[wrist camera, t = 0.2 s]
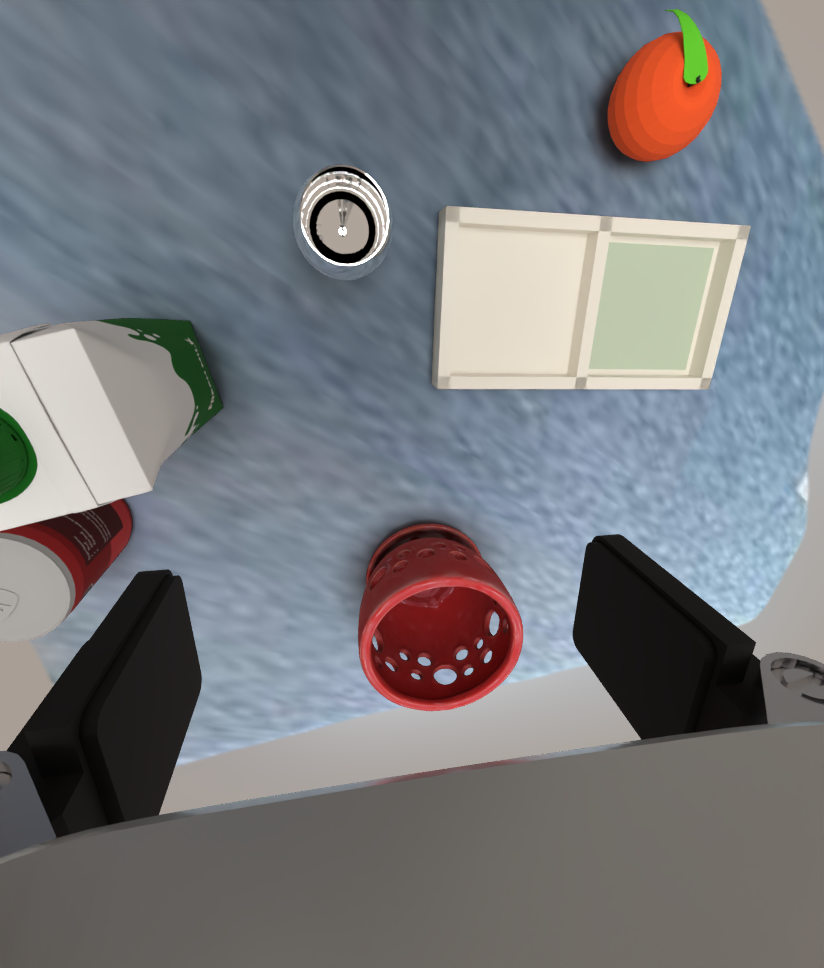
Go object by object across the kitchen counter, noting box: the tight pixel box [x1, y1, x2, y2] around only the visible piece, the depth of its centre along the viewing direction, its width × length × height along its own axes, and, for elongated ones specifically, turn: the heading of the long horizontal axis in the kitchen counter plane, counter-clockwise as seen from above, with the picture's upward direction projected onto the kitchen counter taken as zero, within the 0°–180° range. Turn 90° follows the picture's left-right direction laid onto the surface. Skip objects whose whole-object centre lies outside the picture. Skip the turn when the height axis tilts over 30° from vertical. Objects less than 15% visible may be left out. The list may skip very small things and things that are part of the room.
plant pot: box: [358, 523, 523, 711], centre depth 41 cm, size 13×13×12 cm
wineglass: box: [293, 164, 393, 280], centre depth 30 cm, size 6×6×12 cm
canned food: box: [0, 499, 132, 642], centre depth 35 cm, size 8×8×11 cm
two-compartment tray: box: [431, 206, 751, 389], centre depth 39 cm, size 13×25×2 cm, turn 88°
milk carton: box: [0, 318, 223, 531], centre depth 27 cm, size 9×9×20 cm
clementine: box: [608, 9, 722, 162], centre depth 32 cm, size 8×7×7 cm
